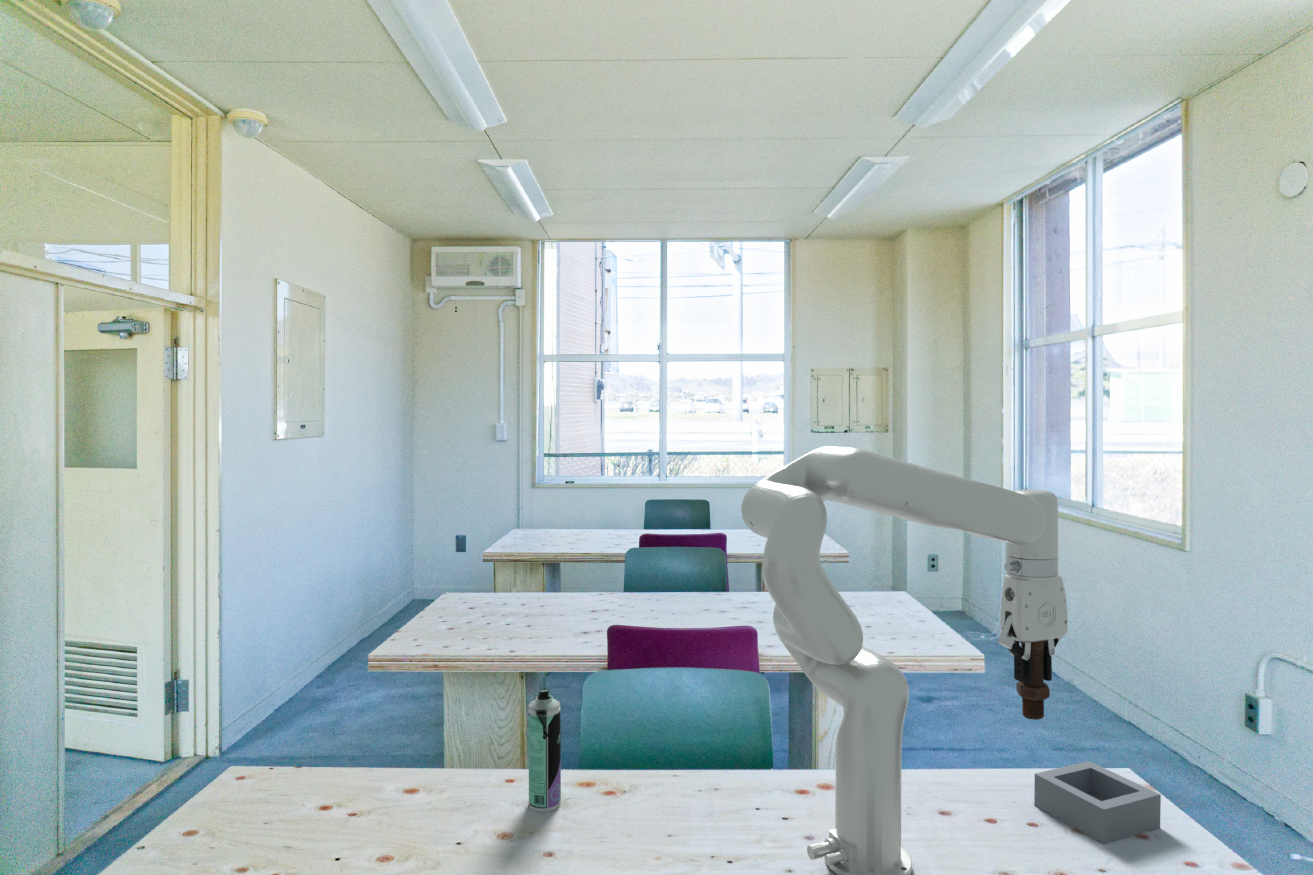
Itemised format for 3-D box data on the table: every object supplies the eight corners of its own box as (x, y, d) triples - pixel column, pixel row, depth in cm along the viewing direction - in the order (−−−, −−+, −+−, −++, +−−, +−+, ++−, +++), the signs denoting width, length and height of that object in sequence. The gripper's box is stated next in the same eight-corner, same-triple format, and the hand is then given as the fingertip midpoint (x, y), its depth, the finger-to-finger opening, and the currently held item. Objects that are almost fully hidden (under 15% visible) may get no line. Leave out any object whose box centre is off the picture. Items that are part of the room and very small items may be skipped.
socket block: (1103, 844, 119) (1103, 809, 118) (1034, 805, 131) (1034, 773, 131) (1160, 827, 123) (1160, 794, 123) (1088, 791, 135) (1088, 761, 135)
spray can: (564, 809, 129) (563, 693, 129) (532, 815, 127) (532, 697, 127) (556, 794, 135) (556, 682, 134) (525, 800, 133) (525, 686, 132)
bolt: (1055, 725, 119) (1054, 630, 119) (1021, 723, 120) (1020, 629, 120) (1044, 711, 125) (1043, 620, 124) (1011, 709, 126) (1010, 620, 125)
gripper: (1011, 576, 115) (1013, 696, 116) (1089, 566, 121) (1090, 679, 122) (974, 567, 122) (975, 680, 123) (1049, 558, 128) (1050, 665, 129)
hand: (1032, 679), depth 122 cm, fingers closed on bolt, 3 cm apart
